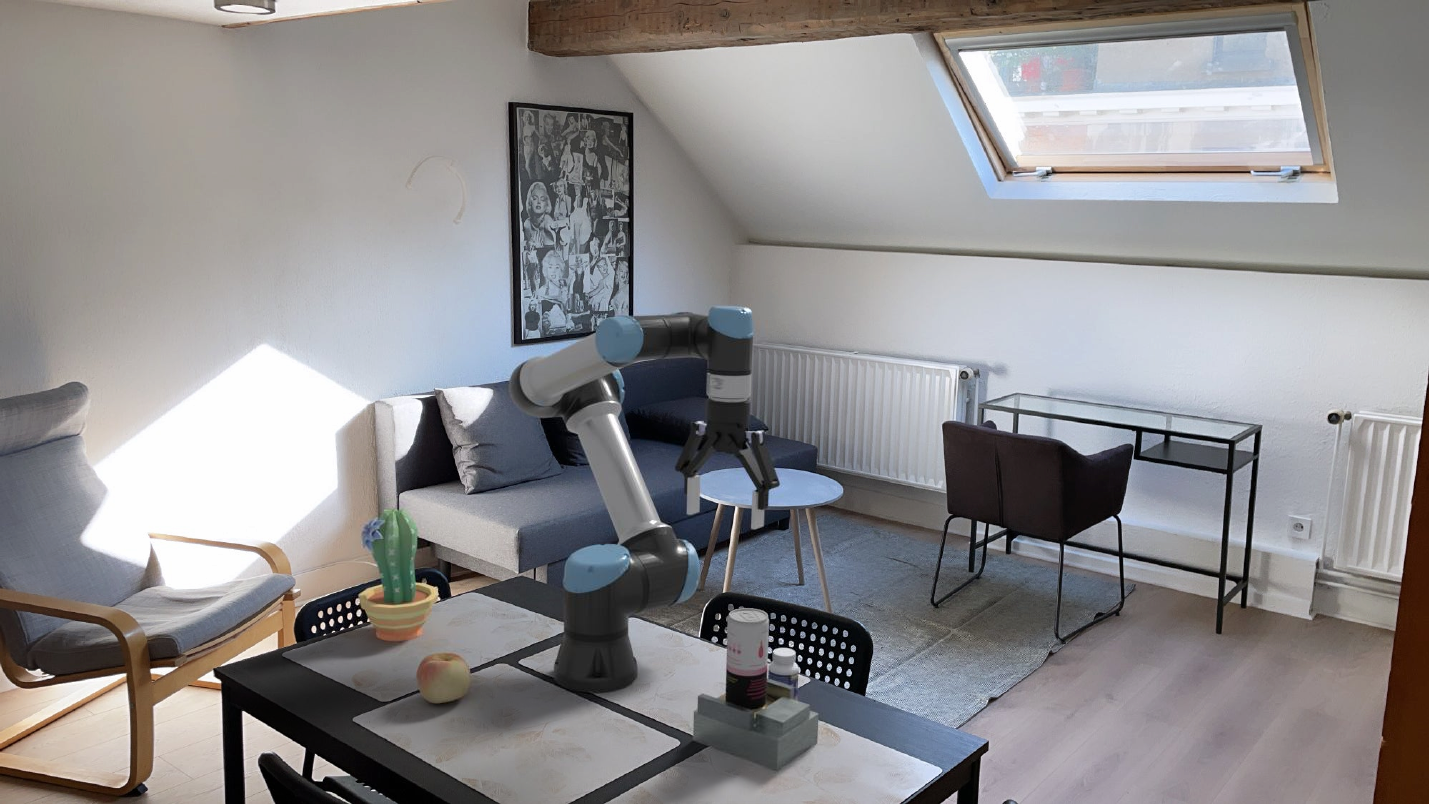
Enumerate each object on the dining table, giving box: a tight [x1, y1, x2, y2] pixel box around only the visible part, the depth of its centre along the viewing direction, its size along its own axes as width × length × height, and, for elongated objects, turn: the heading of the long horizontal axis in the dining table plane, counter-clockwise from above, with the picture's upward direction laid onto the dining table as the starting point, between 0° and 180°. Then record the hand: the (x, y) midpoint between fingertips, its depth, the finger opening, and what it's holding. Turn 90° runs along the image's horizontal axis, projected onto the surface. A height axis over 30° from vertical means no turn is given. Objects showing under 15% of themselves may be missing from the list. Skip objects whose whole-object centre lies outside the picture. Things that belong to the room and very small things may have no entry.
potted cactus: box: [358, 507, 440, 642], centre depth 217 cm, size 15×15×25 cm
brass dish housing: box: [692, 677, 819, 772], centre depth 176 cm, size 16×13×8 cm
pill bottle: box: [767, 647, 800, 701], centre depth 192 cm, size 5×5×9 cm
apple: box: [416, 652, 472, 704], centre depth 188 cm, size 9×9×8 cm
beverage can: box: [725, 607, 770, 711], centre depth 176 cm, size 6×6×15 cm
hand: (724, 520), depth 189 cm, fingers open, 13 cm apart
